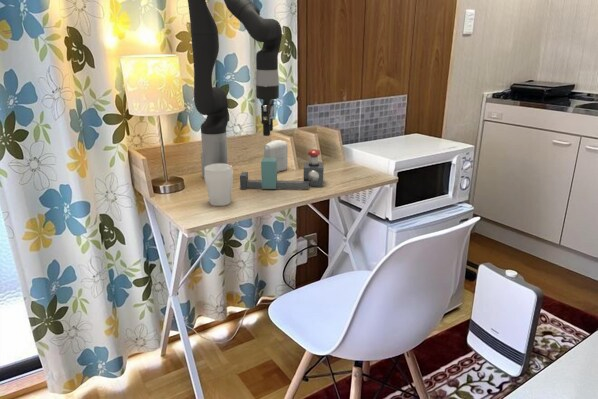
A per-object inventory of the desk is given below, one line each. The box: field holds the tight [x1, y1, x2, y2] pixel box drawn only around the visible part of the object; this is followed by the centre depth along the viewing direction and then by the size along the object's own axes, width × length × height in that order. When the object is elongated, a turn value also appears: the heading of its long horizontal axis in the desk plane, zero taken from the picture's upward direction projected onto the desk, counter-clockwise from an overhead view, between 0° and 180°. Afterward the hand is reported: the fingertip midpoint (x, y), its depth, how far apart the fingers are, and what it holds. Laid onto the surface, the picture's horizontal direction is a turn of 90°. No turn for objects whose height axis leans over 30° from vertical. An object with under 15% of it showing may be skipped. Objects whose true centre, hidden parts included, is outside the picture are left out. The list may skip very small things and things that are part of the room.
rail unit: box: [239, 161, 325, 191], centre depth 166 cm, size 29×13×7 cm, turn 86°
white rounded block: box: [263, 139, 288, 173], centre depth 182 cm, size 10×4×12 cm, turn 134°
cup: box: [204, 163, 234, 207], centre depth 148 cm, size 9×9×12 cm
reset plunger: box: [307, 148, 321, 166], centre depth 166 cm, size 4×4×7 cm
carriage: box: [260, 157, 278, 190], centre depth 162 cm, size 5×4×10 cm
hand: (268, 133), depth 157 cm, fingers open, 7 cm apart
